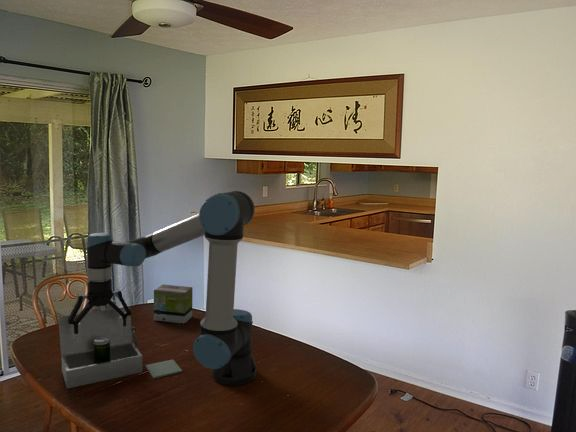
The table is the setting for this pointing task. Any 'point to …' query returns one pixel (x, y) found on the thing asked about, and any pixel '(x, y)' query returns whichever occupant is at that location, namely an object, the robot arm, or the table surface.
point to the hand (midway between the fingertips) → (100, 338)
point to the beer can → (101, 349)
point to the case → (81, 364)
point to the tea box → (173, 303)
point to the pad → (163, 368)
